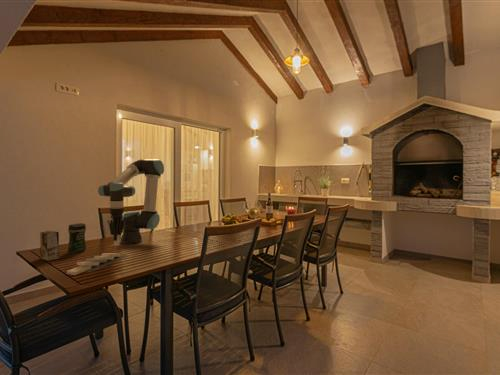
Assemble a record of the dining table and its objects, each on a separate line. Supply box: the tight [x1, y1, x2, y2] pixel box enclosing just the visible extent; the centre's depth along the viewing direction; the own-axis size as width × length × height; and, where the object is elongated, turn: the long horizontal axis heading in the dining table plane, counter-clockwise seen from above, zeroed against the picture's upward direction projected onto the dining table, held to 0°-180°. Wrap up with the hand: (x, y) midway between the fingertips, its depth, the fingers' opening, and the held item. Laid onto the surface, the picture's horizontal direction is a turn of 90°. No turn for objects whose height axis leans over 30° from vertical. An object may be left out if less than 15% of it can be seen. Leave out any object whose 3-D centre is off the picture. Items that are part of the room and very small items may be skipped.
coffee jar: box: [67, 223, 87, 254], centre depth 173 cm, size 10×8×19 cm
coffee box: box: [39, 230, 60, 262], centre depth 158 cm, size 9×6×16 cm
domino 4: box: [93, 255, 114, 260], centre depth 153 cm, size 2×5×10 cm
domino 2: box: [76, 261, 100, 266], centre depth 143 cm, size 2×5×10 cm
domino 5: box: [101, 252, 122, 257], centre depth 159 cm, size 2×5×10 cm
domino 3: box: [85, 258, 107, 262], centre depth 148 cm, size 2×5×10 cm
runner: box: [84, 254, 130, 273], centre depth 152 cm, size 30×12×1 cm, turn 166°
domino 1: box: [66, 265, 91, 276], centre depth 137 cm, size 2×5×10 cm
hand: (116, 245), depth 163 cm, fingers closed
